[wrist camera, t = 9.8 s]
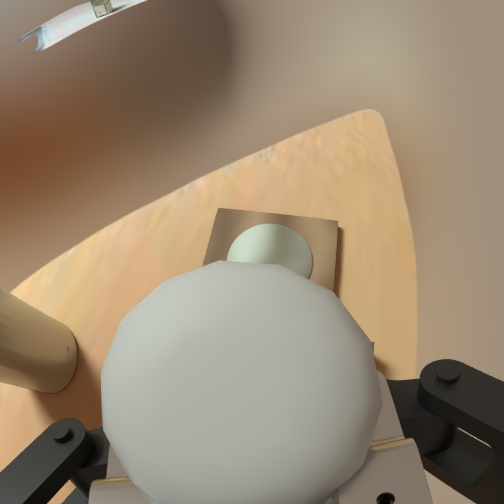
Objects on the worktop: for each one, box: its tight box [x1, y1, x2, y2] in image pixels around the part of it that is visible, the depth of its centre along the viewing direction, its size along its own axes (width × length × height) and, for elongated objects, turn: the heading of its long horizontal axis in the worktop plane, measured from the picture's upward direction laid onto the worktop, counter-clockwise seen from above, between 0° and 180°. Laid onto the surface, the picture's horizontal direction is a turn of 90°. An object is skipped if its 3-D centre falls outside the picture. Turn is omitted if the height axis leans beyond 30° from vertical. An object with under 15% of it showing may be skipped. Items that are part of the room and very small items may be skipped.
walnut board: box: [202, 208, 338, 291], centre depth 35 cm, size 14×12×1 cm
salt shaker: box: [101, 260, 383, 504], centre depth 9 cm, size 6×6×13 cm
